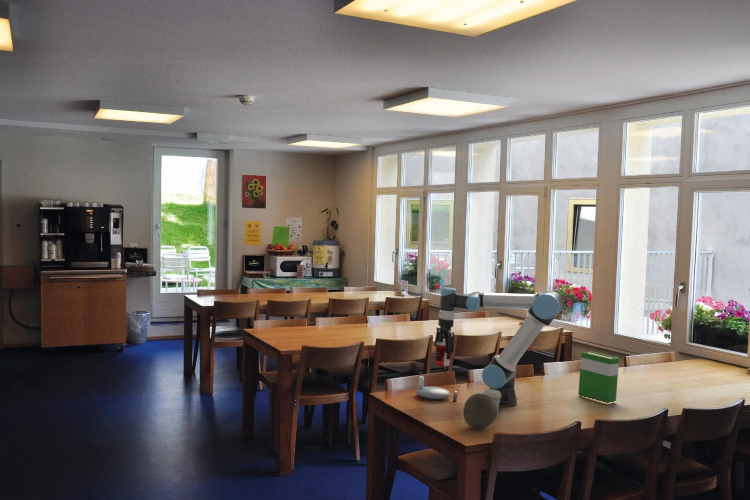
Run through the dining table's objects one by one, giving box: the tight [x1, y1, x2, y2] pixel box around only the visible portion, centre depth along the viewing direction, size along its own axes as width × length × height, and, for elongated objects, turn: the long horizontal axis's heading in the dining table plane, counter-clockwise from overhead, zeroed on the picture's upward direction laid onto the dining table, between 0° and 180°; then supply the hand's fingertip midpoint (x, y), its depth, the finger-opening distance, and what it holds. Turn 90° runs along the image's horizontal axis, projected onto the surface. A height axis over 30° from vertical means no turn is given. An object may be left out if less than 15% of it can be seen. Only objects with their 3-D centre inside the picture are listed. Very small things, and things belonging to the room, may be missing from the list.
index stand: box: [422, 390, 458, 403], centre depth 323 cm, size 17×10×5 cm, turn 46°
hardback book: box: [577, 350, 620, 403], centre depth 340 cm, size 18×7×24 cm, turn 37°
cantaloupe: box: [462, 393, 498, 431], centre depth 280 cm, size 14×14×15 cm
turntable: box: [415, 375, 452, 400], centre depth 325 cm, size 18×17×8 cm
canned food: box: [434, 341, 452, 367], centre depth 324 cm, size 8×8×11 cm
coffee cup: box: [482, 388, 501, 419], centre depth 298 cm, size 8×9×12 cm
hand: (442, 363), depth 324 cm, fingers closed on canned food, 8 cm apart
